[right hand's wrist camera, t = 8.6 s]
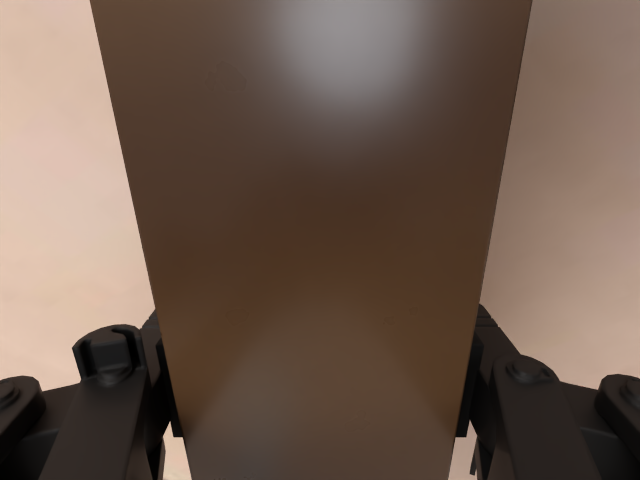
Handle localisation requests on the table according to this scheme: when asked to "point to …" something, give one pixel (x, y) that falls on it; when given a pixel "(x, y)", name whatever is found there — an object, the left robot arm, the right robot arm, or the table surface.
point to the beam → (315, 218)
